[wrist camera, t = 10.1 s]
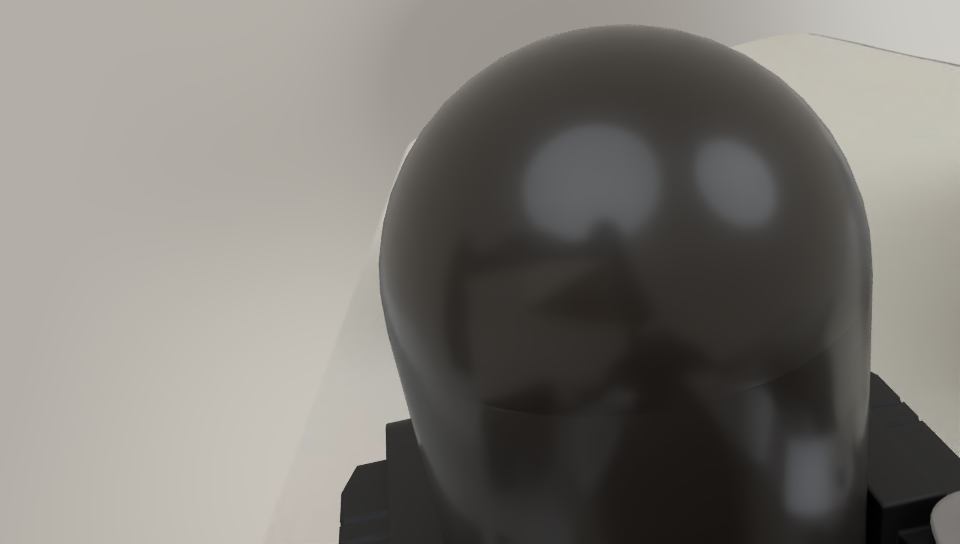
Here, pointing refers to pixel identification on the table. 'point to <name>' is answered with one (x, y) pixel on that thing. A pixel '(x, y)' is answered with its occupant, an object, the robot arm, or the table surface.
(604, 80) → the two-tone capsule
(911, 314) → the table surface
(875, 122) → the table surface
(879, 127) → the table surface
